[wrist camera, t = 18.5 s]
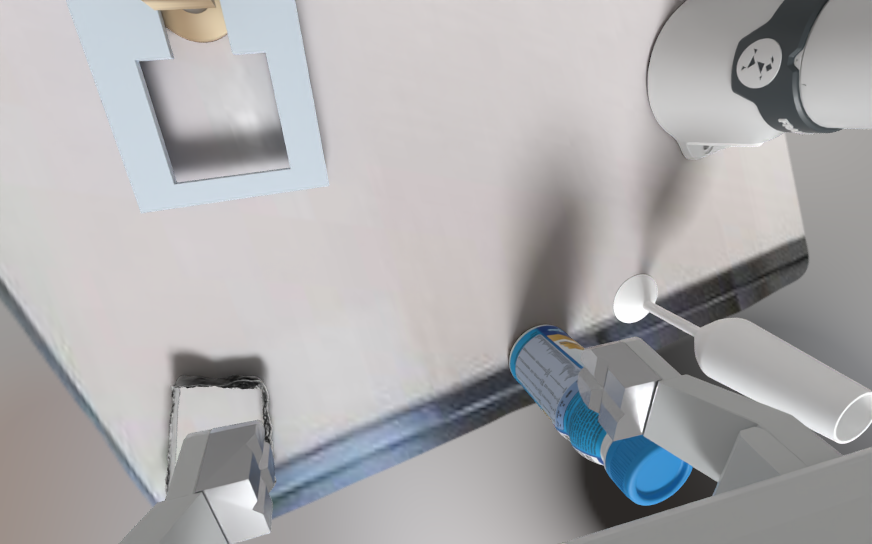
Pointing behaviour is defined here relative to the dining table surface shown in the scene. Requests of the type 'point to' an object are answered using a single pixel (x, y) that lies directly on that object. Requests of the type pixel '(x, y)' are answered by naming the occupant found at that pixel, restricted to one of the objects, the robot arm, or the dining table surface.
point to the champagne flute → (762, 366)
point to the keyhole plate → (147, 40)
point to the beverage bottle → (590, 417)
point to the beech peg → (192, 18)
